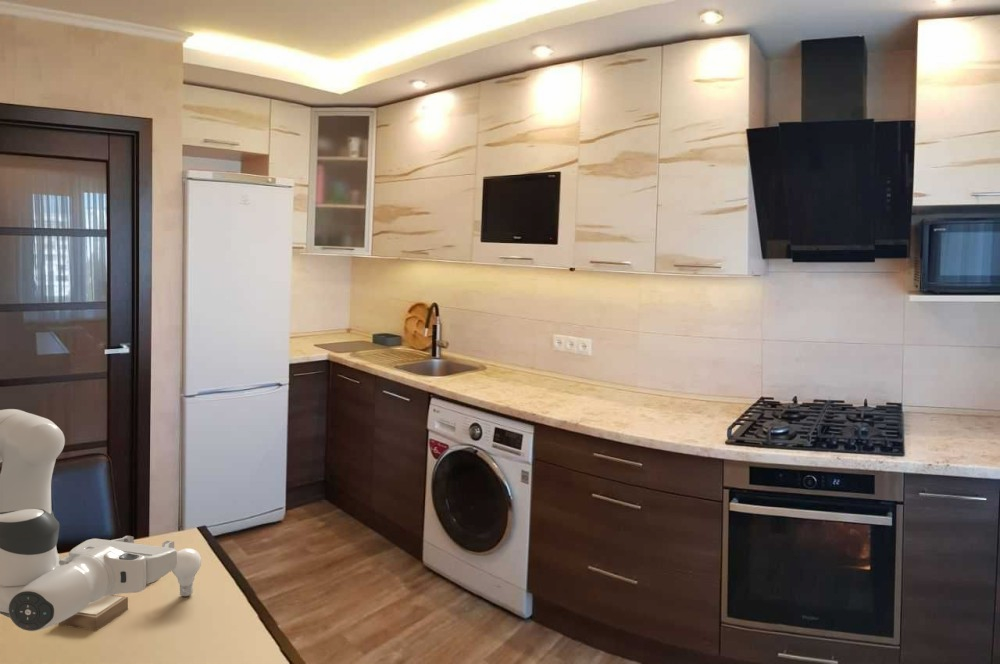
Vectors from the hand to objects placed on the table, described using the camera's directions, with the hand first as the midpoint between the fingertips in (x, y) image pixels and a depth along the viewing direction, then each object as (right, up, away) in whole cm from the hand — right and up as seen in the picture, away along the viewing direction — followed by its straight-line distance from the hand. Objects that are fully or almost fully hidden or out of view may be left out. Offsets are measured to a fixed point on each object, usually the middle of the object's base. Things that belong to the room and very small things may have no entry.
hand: (150, 541), depth 143 cm
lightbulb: (+1, -17, +14) cm, 22 cm away
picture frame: (-14, -17, +4) cm, 22 cm away
